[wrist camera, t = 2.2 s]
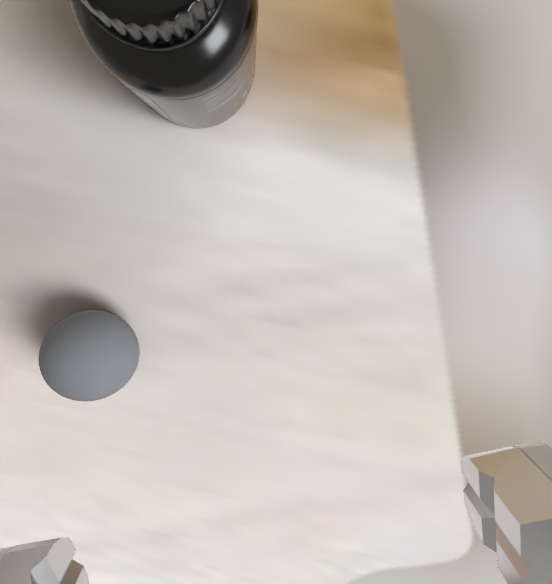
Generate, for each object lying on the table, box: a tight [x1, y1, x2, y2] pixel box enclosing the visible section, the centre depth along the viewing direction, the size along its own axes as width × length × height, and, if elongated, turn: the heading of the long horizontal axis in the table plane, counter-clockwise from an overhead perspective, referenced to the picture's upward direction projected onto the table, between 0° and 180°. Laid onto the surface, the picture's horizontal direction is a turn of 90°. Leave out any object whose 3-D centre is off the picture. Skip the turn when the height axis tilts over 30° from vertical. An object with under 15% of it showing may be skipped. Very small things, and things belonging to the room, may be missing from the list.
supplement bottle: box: [69, 0, 258, 128], centre depth 16 cm, size 7×7×12 cm
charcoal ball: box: [39, 310, 139, 401], centre depth 23 cm, size 6×6×6 cm
